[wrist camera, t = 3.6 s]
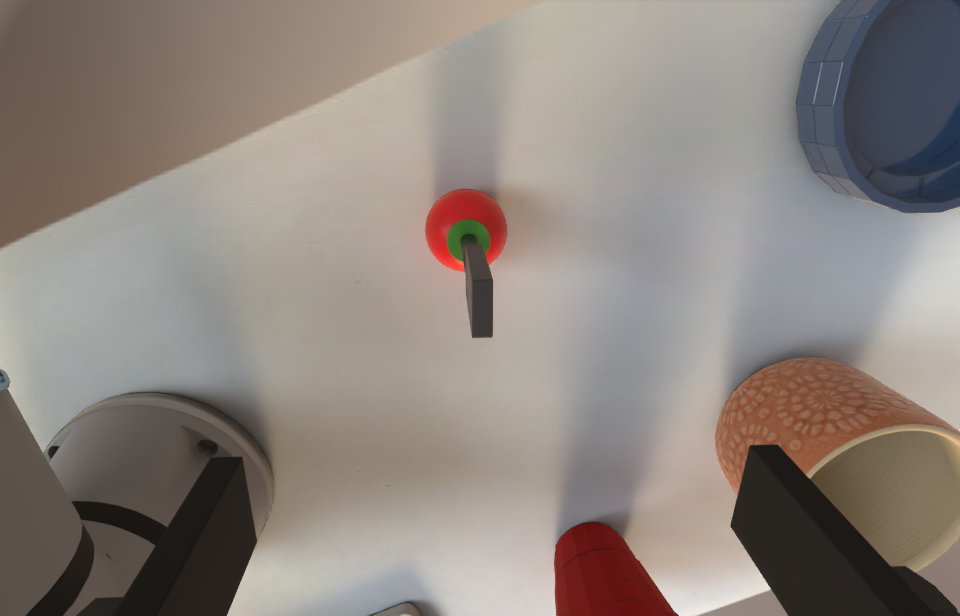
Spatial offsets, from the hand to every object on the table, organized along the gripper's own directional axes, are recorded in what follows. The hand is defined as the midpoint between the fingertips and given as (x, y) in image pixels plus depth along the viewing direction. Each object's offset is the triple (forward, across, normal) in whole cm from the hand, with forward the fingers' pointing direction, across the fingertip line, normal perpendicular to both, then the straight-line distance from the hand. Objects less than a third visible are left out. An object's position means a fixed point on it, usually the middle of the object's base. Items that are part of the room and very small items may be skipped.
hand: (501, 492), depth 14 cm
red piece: (+23, 0, +2) cm, 23 cm away
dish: (+23, +27, +10) cm, 37 cm away
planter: (+23, +24, -13) cm, 35 cm away
